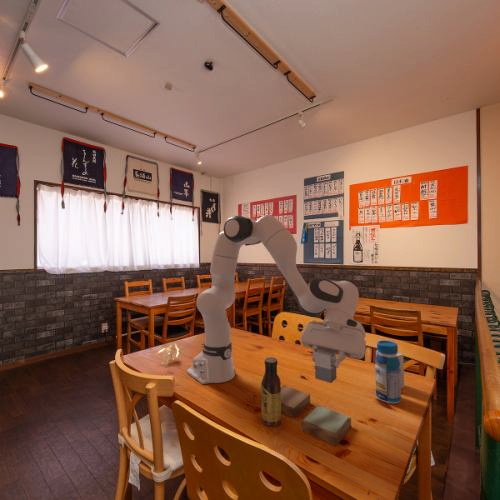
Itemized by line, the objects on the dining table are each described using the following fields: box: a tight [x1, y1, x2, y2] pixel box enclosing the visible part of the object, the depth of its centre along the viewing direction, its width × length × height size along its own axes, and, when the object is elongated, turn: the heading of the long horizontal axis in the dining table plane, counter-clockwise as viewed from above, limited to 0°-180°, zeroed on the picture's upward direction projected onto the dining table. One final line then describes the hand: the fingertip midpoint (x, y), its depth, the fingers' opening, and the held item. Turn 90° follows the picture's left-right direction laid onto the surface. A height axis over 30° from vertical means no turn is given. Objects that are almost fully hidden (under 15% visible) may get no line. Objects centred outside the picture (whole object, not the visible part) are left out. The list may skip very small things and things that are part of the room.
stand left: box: [281, 385, 311, 418], centre depth 97 cm, size 11×11×3 cm
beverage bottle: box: [374, 340, 402, 405], centre depth 100 cm, size 8×8×20 cm
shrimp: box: [155, 341, 182, 367], centre depth 137 cm, size 11×15×9 cm
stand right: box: [300, 405, 352, 447], centre depth 84 cm, size 11×11×3 cm
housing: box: [314, 349, 338, 384], centre depth 84 cm, size 5×4×8 cm
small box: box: [375, 349, 405, 389], centre depth 110 cm, size 8×6×13 cm
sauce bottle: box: [260, 356, 282, 427], centre depth 87 cm, size 7×6×20 cm
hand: (324, 364), depth 83 cm, fingers closed on housing, 5 cm apart
